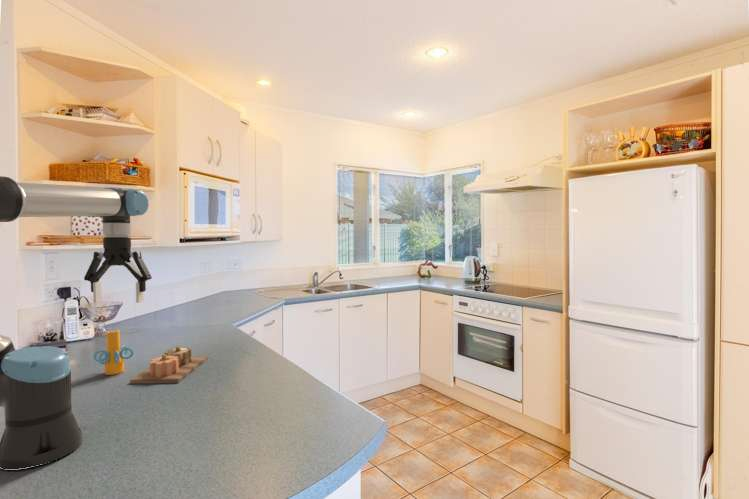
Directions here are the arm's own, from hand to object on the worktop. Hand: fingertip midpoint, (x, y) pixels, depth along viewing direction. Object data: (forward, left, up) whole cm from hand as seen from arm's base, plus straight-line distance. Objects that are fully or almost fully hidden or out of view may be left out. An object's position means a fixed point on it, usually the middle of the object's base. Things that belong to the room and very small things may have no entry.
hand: (118, 302), depth 128 cm
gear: (+10, -9, -27) cm, 30 cm away
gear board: (+15, -9, -28) cm, 33 cm away
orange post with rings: (+14, +11, -28) cm, 33 cm away
